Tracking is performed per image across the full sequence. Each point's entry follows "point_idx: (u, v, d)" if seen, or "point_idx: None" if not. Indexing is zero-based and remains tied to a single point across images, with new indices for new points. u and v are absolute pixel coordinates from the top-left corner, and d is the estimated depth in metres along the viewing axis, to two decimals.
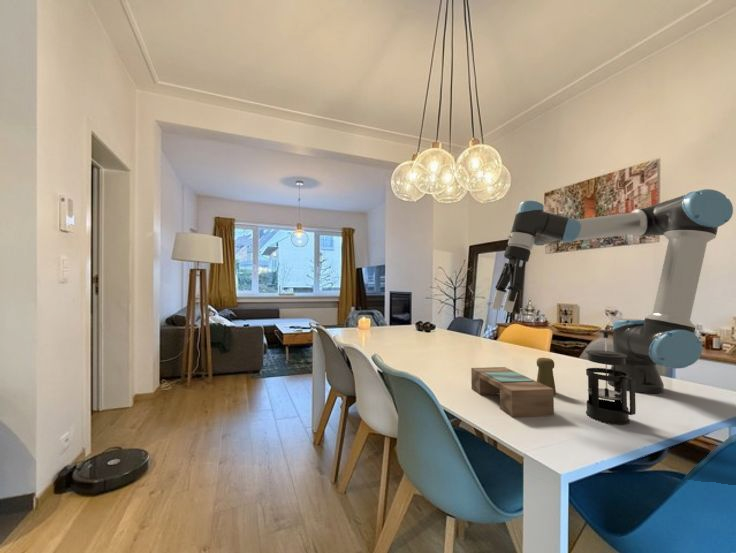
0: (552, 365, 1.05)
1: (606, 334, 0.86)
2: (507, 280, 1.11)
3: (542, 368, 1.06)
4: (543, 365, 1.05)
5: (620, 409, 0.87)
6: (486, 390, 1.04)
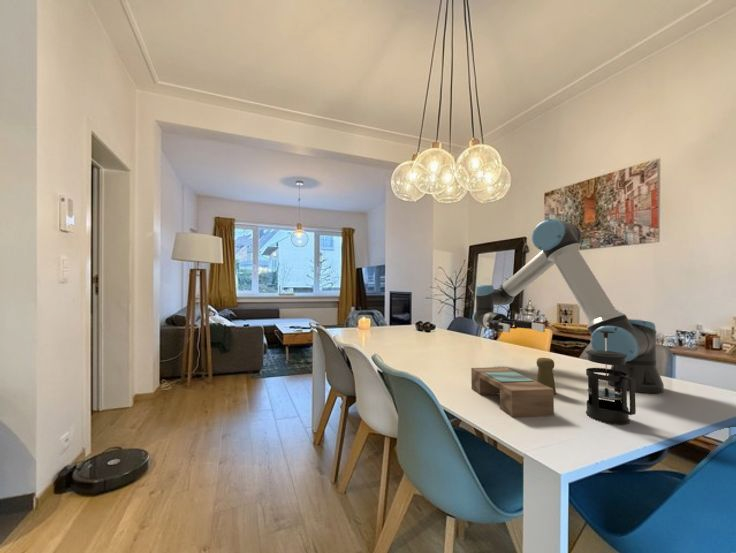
0: (552, 365, 1.05)
1: (606, 334, 0.86)
2: (520, 323, 1.28)
3: (542, 368, 1.06)
4: (543, 365, 1.05)
5: (620, 409, 0.87)
6: (486, 390, 1.04)
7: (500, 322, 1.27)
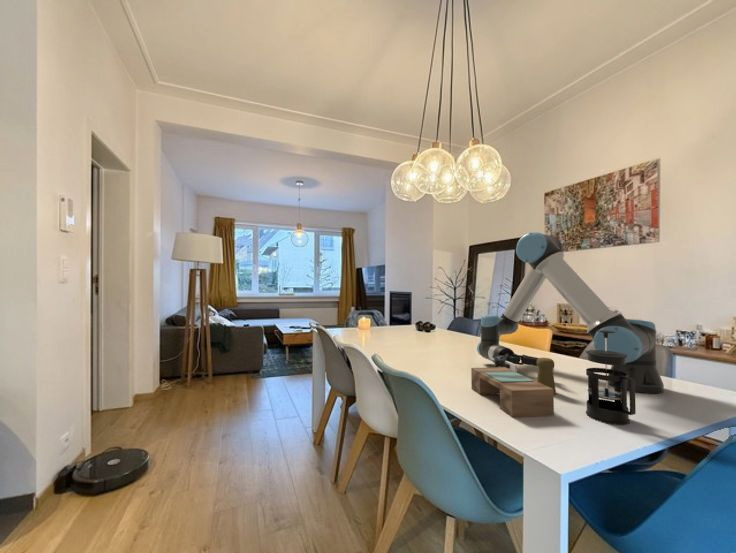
0: (552, 365, 1.05)
1: (606, 334, 0.86)
2: (527, 360, 1.23)
3: (542, 368, 1.06)
4: (543, 365, 1.05)
5: (620, 409, 0.87)
6: (486, 390, 1.04)
7: (506, 359, 1.22)
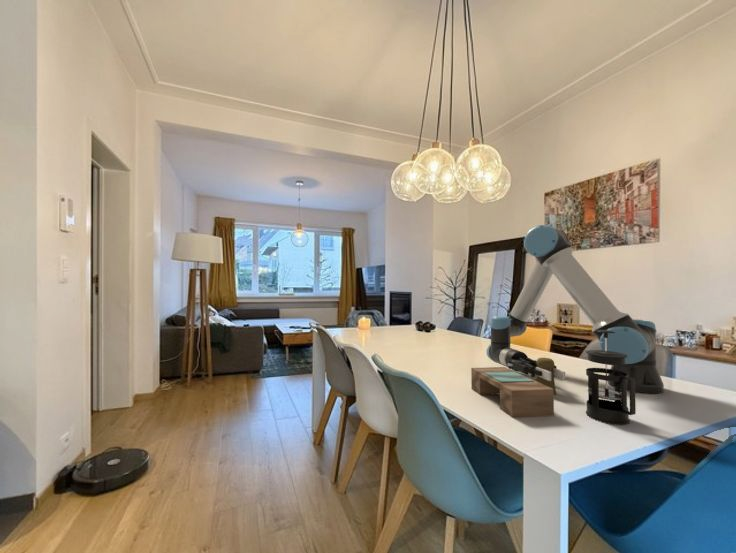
0: (552, 365, 1.05)
1: (606, 334, 0.86)
2: None
3: (542, 368, 1.06)
4: (543, 365, 1.05)
5: (620, 409, 0.87)
6: (486, 390, 1.04)
7: (528, 364, 1.14)
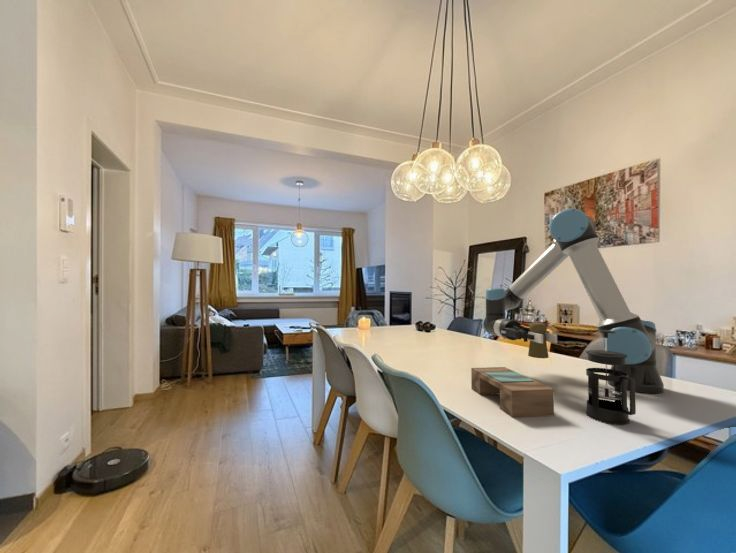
0: (544, 329, 1.05)
1: (606, 334, 0.86)
2: (531, 332, 1.14)
3: None
4: (535, 328, 1.05)
5: (620, 409, 0.87)
6: (486, 390, 1.04)
7: None
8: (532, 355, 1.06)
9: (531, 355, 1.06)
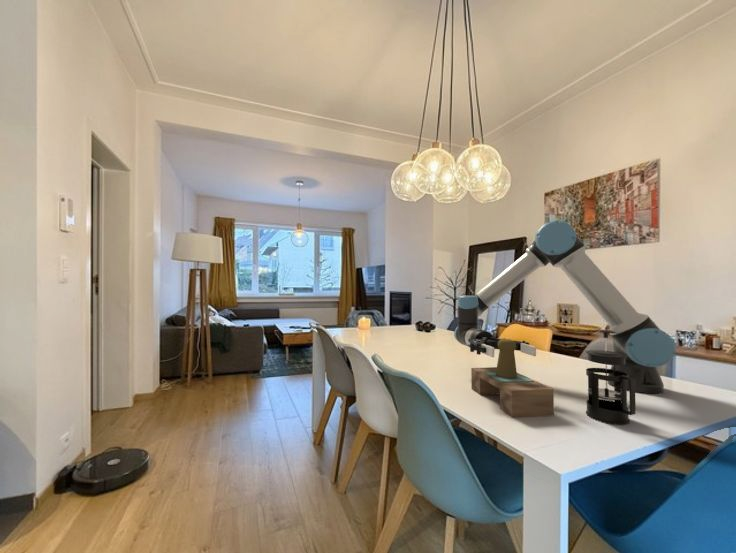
0: (513, 346, 0.97)
1: (606, 334, 0.86)
2: None
3: (502, 350, 0.98)
4: (503, 346, 0.97)
5: (620, 409, 0.87)
6: (486, 390, 1.04)
7: (484, 342, 1.06)
8: (499, 374, 0.98)
9: (498, 374, 0.98)
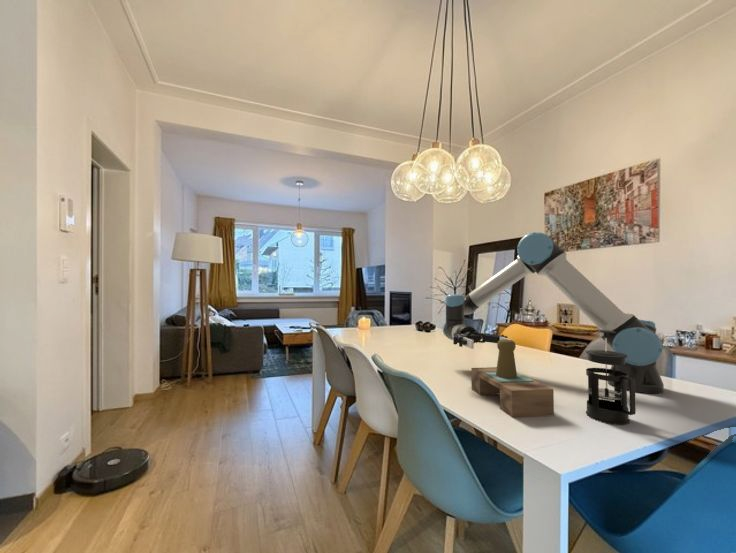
0: (513, 347, 0.97)
1: (606, 334, 0.86)
2: (488, 337, 1.19)
3: (502, 351, 0.98)
4: (503, 346, 0.97)
5: (620, 409, 0.87)
6: (486, 390, 1.04)
7: (466, 336, 1.18)
8: (499, 375, 0.98)
9: (498, 375, 0.98)
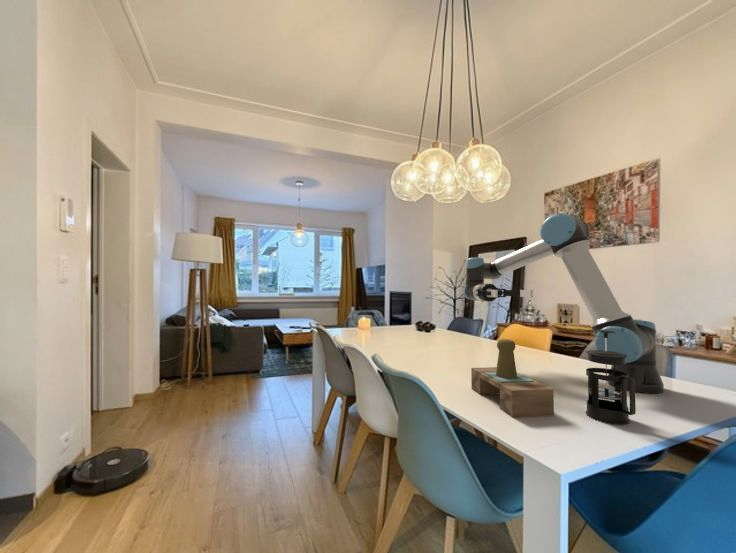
0: (512, 347, 0.97)
1: (606, 334, 0.86)
2: (508, 291, 1.29)
3: (502, 351, 0.98)
4: (503, 346, 0.97)
5: (620, 409, 0.87)
6: (486, 390, 1.04)
7: None
8: (499, 375, 0.98)
9: (498, 375, 0.98)
